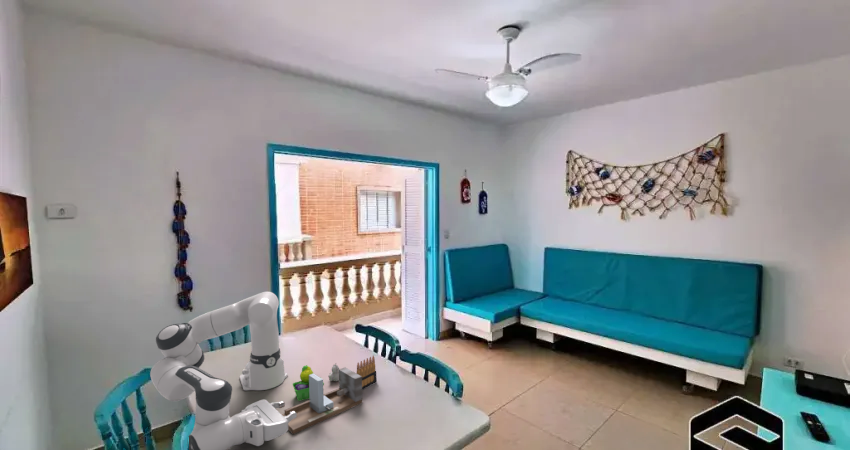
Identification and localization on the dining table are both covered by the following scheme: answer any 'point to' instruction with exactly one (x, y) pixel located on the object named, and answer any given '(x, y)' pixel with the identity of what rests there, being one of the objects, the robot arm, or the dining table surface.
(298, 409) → the base
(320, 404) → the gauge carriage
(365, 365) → the ammunition clip
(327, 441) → the dining table surface
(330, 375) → the grey figurine
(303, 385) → the fruit basket
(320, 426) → the dining table surface
